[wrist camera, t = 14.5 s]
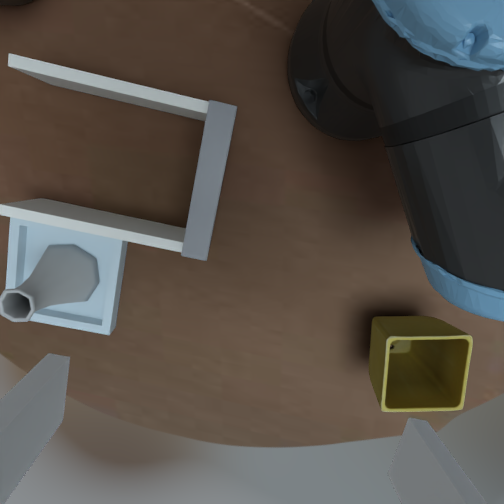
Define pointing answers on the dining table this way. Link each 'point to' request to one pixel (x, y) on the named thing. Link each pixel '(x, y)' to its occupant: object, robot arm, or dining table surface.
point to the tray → (102, 248)
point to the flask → (52, 283)
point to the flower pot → (418, 364)
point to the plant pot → (14, 2)
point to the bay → (125, 227)
